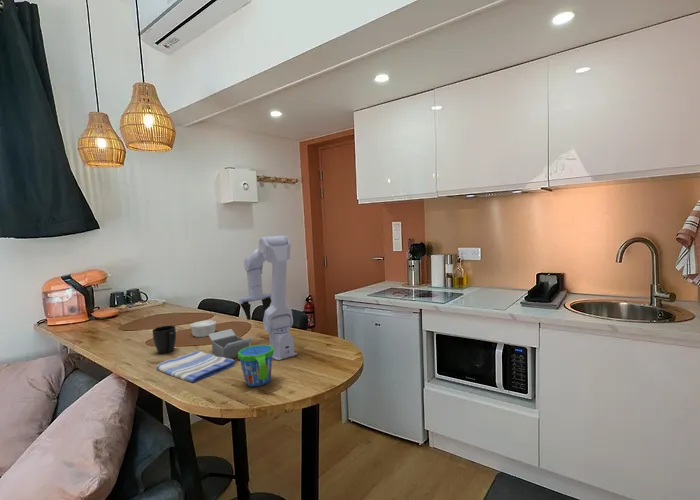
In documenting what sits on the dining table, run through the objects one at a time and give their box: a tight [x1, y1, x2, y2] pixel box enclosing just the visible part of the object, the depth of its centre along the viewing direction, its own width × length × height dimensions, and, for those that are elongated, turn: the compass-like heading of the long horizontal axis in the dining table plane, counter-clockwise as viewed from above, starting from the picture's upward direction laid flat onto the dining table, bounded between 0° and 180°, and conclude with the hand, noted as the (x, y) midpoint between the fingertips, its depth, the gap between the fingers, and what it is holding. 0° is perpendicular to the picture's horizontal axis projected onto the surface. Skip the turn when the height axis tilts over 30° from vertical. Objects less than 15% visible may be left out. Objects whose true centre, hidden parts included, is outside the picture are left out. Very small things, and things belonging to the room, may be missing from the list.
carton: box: [211, 335, 251, 359], centre depth 141 cm, size 12×10×4 cm
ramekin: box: [189, 319, 217, 338], centre depth 170 cm, size 11×11×5 cm
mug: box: [152, 325, 177, 355], centre depth 146 cm, size 8×12×10 cm
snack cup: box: [237, 344, 274, 387], centre depth 112 cm, size 16×10×10 cm
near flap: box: [224, 337, 253, 349], centre depth 134 cm, size 4×9×1 cm
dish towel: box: [155, 349, 236, 383], centre depth 128 cm, size 17×24×3 cm
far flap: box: [207, 328, 237, 342], centre depth 147 cm, size 4×9×1 cm, turn 130°
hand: (257, 317), depth 154 cm, fingers open, 7 cm apart
